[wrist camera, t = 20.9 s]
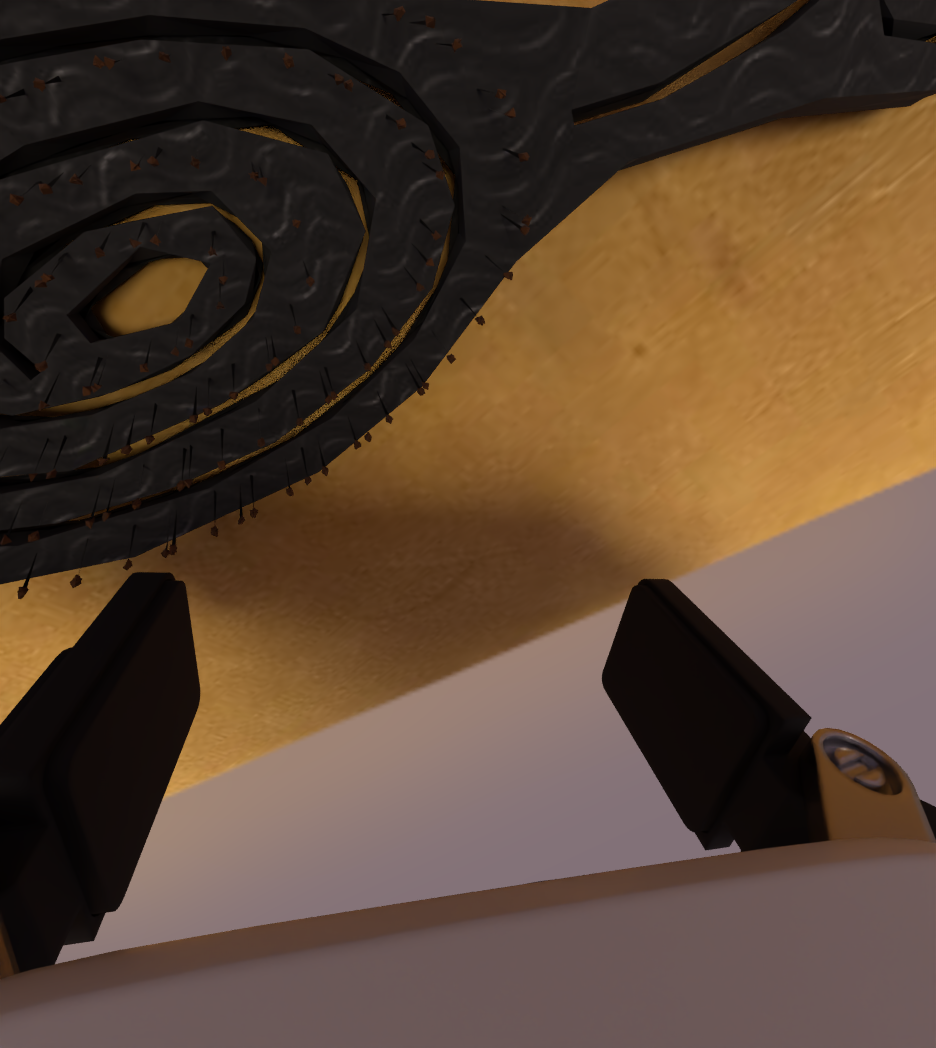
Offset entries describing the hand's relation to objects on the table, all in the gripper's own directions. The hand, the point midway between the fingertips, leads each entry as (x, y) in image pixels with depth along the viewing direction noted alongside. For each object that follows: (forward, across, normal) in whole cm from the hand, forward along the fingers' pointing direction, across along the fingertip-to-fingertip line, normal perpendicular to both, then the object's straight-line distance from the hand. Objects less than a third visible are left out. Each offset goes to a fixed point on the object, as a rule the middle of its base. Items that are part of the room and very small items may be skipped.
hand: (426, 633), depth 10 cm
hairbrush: (+3, 0, -8) cm, 9 cm away
